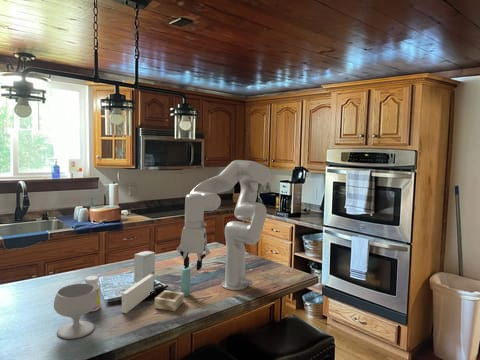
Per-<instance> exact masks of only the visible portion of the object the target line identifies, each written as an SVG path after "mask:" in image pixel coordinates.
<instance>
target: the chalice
mask: <svg viewBox="0 0 480 360" xmlns="http://www.w3.org/2000/svg"><path fill="white" fill-rule="evenodd" d="M97 300H98V298H97V293H96V290H95V289H94V287H93V286H92V285H89V284H85V283H75V284H73V283H72V284H68V285H66V286H63V287H61V288H60V289H58V291H57V293H56V295H55V296H54V300H53V309H54V311H55V312H56V313H57V314H58V315H59V316H62V317H67V318H70V319H72V322H69V323H66V324H64V325H61V326H60V327H59V328H58V330H56V331H57V332H56V335H57V336H58V337H60V338H62V339H64V340H65V339H67V340H68V339H69V340H73V339H74V340H75V339H79V338H82V337H85V336H88V335H89V334H91V333H93V331H94V330H95V328H96V327H95V326H96V325H95V324H94V323H92V322H91V321H87V320H80V319H81V317H83V316H84V315H86V314H88V313H90V311H91V310H93V308H94V307H95V306H96V304H97Z"/></svg>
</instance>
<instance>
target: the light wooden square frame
mask: <svg viewBox="0 0 480 360" xmlns="http://www.w3.org/2000/svg"><path fill="white" fill-rule="evenodd" d="M184 300H185V297H184V293H181V291H174V290H165V289H164V290H163V291H162V292H160V293H159V294H158V295H157V296H155V297H154V309H159V310H165V311H170V312H176V310H177V309H179V307H180V306H182V304H183V303H184Z"/></svg>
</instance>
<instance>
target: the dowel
mask: <svg viewBox="0 0 480 360" xmlns="http://www.w3.org/2000/svg"><path fill="white" fill-rule="evenodd" d="M191 269H192V268H191V267H188V268H187V269H185V267H182V268H181V269H180V270H181V271H180V272H181V273H180V275H181V276H180V277H181V278H180V279H181V281H180V292H181V293H184V298H188V297H189V296H190V294H191V292H190V291H191Z"/></svg>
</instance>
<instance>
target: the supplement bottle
mask: <svg viewBox="0 0 480 360" xmlns="http://www.w3.org/2000/svg"><path fill="white" fill-rule="evenodd" d="M84 281H85V283H84V284H89V285H92V286H93V287H94V289H95V290H96V293H97V298H98V300H97V304H96V306H95V307H94V308H93V310H91V311H90V312H96V311H98V310H99V309H100V308H101V283H100V282H99V277H98V276H97V275H90V276H89V275H88V276H87V277H85V279H84ZM90 312H89V313H90Z"/></svg>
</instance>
